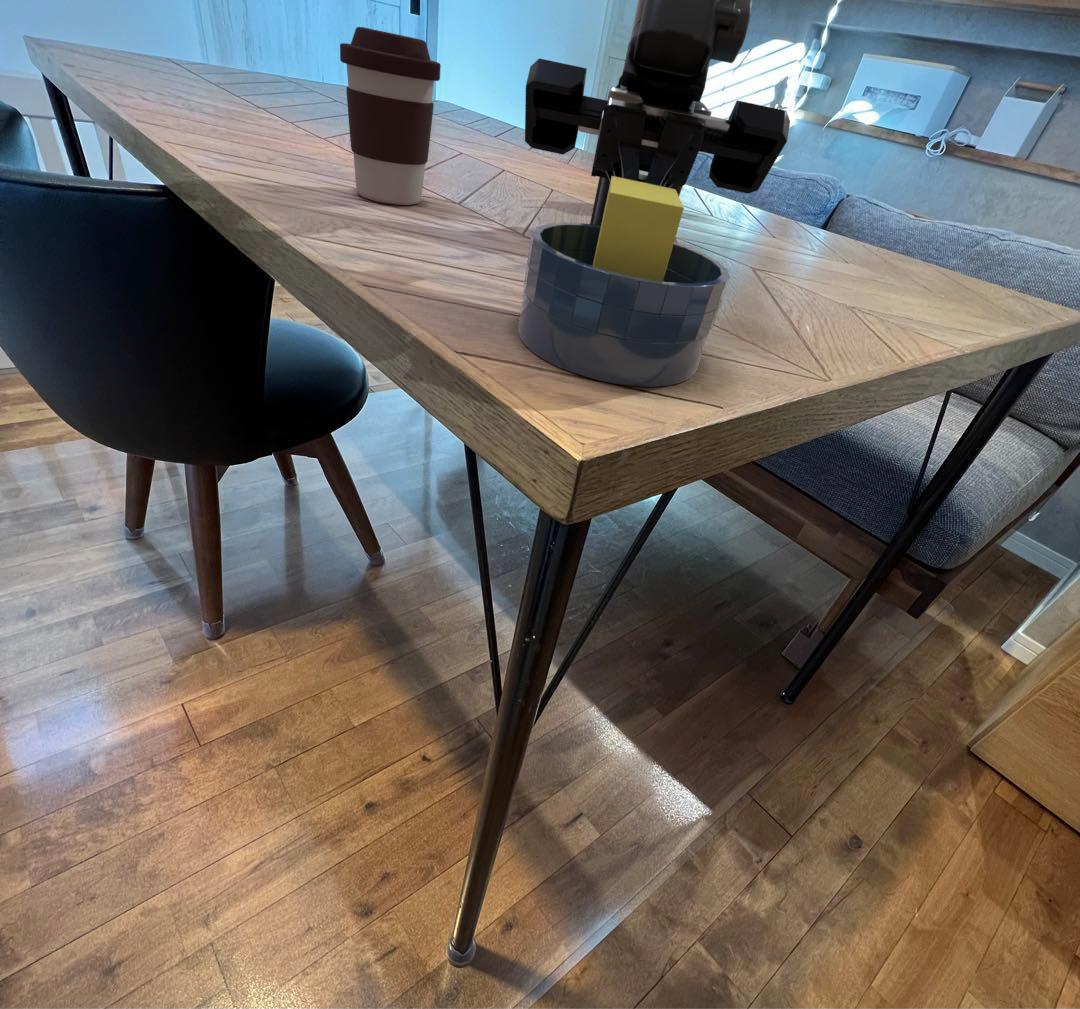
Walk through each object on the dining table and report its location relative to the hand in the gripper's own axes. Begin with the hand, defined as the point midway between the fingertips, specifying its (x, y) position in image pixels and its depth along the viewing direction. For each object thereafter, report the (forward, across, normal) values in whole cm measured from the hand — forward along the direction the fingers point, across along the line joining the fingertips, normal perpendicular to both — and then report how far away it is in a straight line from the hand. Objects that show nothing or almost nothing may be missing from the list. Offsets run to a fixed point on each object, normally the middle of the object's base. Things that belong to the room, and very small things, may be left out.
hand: (631, 230), depth 42 cm
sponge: (+5, 0, 0) cm, 5 cm away
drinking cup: (-35, +6, +44) cm, 57 cm away
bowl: (+8, 0, +2) cm, 8 cm away
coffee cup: (-14, -26, +24) cm, 38 cm away
